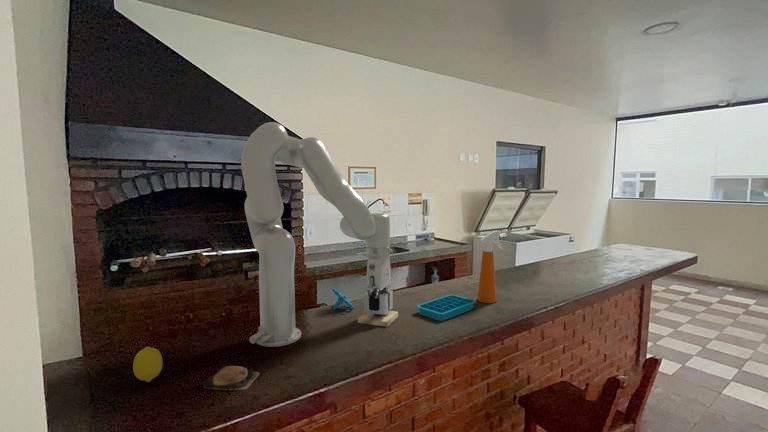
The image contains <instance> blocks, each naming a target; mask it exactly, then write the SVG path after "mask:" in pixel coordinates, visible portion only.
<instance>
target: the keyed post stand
mask: <svg viewBox="0 0 768 432" xmlns="http://www.w3.org/2000/svg"><path fill="white" fill-rule="evenodd" d="M398 317H399V311H394V310H388V313H387V314H385V315H382V314H374V313H366V312H364V313H362V314H360V315H359V317H358V318H357V324H365V325H371V326H372V325H373V326H378V327H386V328H388V327H389V326H390V325H391V324H392V323H393V322H394V321H395V320H397V318H398Z"/></svg>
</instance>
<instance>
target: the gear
mask: <svg viewBox="0 0 768 432" xmlns="http://www.w3.org/2000/svg"><path fill="white" fill-rule="evenodd" d="M332 292H333V294H335V295H336V296H337V301H336V302H335V303H334V304H333V307H332V310H333V311H336V310H337V308H338V307H339V306H340V305H343V304H346V306H347V307H349V308H350V309H351V310H354V309H355V307H354V305H353V304H352V303H351V302H350V301H349V300H348V299H347V297H346V295H343V294H342V293H341V292H340V291H339V290H338V289H336V288H335V287H334V288H332Z"/></svg>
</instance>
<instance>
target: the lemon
mask: <svg viewBox="0 0 768 432" xmlns="http://www.w3.org/2000/svg"><path fill="white" fill-rule="evenodd" d="M132 363H133V364H132V370H133V375H134V376H135V377H136V379H138V380H139V381H143V382H146V383H150V382H152V380H153V379H155V378H156V377H157V376H159V375H160V373H161V371H162V369H163V357H162V354H161V352H160V351H159V349H157V348H154V347H150V346H145V347H144V348H143V349H140V351H138V352H137V354H136V355H135V356H134V359H133V362H132Z"/></svg>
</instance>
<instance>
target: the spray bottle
mask: <svg viewBox="0 0 768 432" xmlns="http://www.w3.org/2000/svg"><path fill="white" fill-rule="evenodd" d="M500 234H502V231H501V230H494V231H491V232H489V233H488V234H486V235H484V236H483V237H481V239H479V241H480V242H481V243H483V245H482V256H481V262H480V263H481V264H480V272H479V273H480V274H479V281H478V290H477V300H476V301H478V302H480V303H483V304H494V303H496V302H497V287H496V286H497V285H496V273H495V259H494V246H493V243H495V245H496V246H497V247H498V248H499V249H500V250H502V251H505V248H504V247H503V246H502V244H501V241H500V236H499V235H500Z"/></svg>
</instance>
